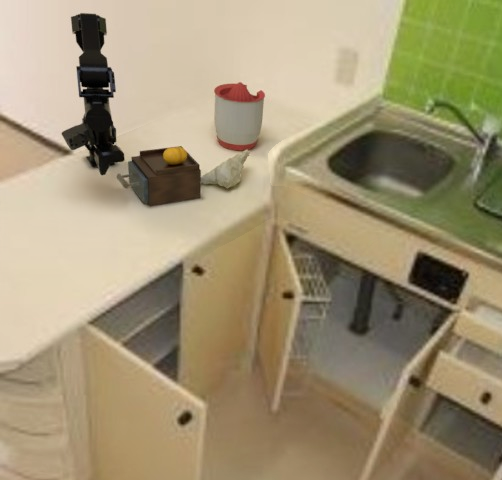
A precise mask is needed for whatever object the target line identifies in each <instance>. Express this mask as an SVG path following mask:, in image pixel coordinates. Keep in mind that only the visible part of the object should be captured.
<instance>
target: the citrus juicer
mask: <svg viewBox="0 0 502 480" xmlns="http://www.w3.org/2000/svg"><path fill="white" fill-rule="evenodd" d="M213 93H214V119H213V120H214V128H215V129H214V130H215V133H216V138H217V140H218V143H219V144H220V145H221V146H222V147H224V148H226V149H228V150H234V151H237V152H240V151H241V152H242V151H245V150H247V149H248V150H251V149H252V148H255V146H256V144H257V142H258V140H259V137H260V134H261V130H262V126H263V116H264V104H265V103H264V102H265V97H266V94H265V92H264V91H263V90H259V91H257V92H256V94H255V95H254V94H252V93H250V91H249V89H248V84H244V83H243V82H241V81H239V82H236V83H224V84H220V85H218V86H216V87H215V88H214V90H213Z"/></svg>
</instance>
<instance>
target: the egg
mask: <svg viewBox="0 0 502 480" xmlns="http://www.w3.org/2000/svg"><path fill="white" fill-rule="evenodd" d="M172 147H173V148H170V147H167V148H168V149H166V150H165V151H164V153H163V158H164V161H165V162H166V163H167V164H170V165H175V164H182V163H184V162H185V161H186V159H187V152H188V151H187V150H186V149H185V148H184V147H183V148H184V149H183V148H181V147H178V146H172ZM185 150H186V151H187V152H186V151H185Z"/></svg>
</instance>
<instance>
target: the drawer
mask: <svg viewBox="0 0 502 480" xmlns="http://www.w3.org/2000/svg"><path fill="white" fill-rule="evenodd" d="M127 167H128V168H127V169H128V173H127V174H121V173H117V174H116V177H115V178H116V180H118V182H119V183H120V184H121V186H122V187H123V188H124V189H128V188H129V187H131V188H132V190H133V191H134V192H135V193H136V195H137V196H138V197H139V199H140V200H141V201H142V202H143V203H144V204H147V203H149V198H148V178H147V177H146V176H145V175H144V174H143V172H142V171H141V170H140V169H139V167H137V166H136V165H135V163H134V162H133V161H132V160H128V161H127ZM126 178H128V182H127V180H125V179H126Z"/></svg>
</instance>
